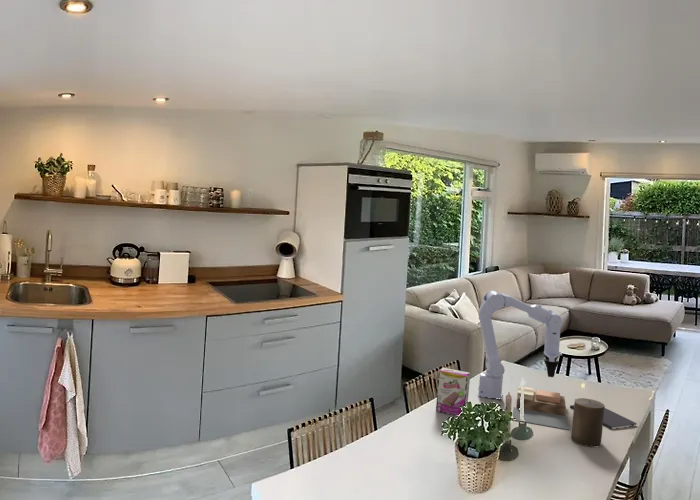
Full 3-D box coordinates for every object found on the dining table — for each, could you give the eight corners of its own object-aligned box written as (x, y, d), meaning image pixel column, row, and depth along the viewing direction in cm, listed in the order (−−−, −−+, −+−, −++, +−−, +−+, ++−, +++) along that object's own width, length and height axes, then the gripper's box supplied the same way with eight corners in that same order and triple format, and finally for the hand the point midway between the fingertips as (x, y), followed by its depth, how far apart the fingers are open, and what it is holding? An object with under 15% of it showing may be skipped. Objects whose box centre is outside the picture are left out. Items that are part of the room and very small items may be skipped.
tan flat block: (516, 408, 216) (517, 398, 215) (517, 398, 227) (518, 389, 227) (564, 416, 210) (565, 406, 209) (563, 405, 221) (564, 396, 221)
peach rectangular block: (535, 399, 216) (536, 394, 216) (535, 394, 222) (536, 389, 221) (559, 403, 213) (560, 398, 213) (559, 398, 219) (559, 393, 218)
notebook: (569, 409, 220) (611, 431, 200) (570, 405, 220) (611, 427, 200) (594, 406, 224) (637, 427, 204) (594, 402, 224) (637, 423, 204)
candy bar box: (435, 412, 208) (438, 370, 206) (438, 407, 212) (441, 366, 211) (464, 418, 203) (467, 375, 201) (467, 413, 208) (470, 372, 206)
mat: (511, 420, 204) (512, 419, 204) (513, 407, 216) (513, 407, 216) (569, 430, 197) (569, 429, 197) (567, 417, 210) (567, 416, 210)
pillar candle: (598, 450, 182) (603, 406, 181) (568, 441, 187) (572, 399, 186) (602, 440, 191) (607, 398, 189) (573, 432, 196) (577, 392, 194)
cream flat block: (533, 400, 214) (533, 395, 214) (517, 397, 216) (517, 392, 216) (533, 393, 223) (533, 388, 223) (518, 390, 225) (518, 385, 225)
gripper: (563, 347, 216) (561, 380, 217) (561, 338, 230) (560, 370, 231) (544, 345, 218) (542, 378, 220) (544, 337, 232) (542, 368, 233)
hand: (550, 374), depth 226 cm, fingers open, 7 cm apart
